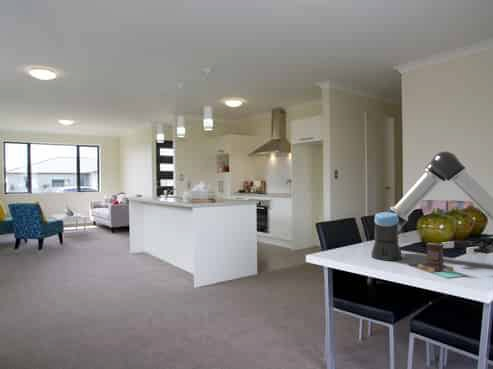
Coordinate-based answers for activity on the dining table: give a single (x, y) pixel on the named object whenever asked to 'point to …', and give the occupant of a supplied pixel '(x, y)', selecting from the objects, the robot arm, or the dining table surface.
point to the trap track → (424, 267)
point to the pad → (450, 274)
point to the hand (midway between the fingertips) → (454, 248)
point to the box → (435, 256)
